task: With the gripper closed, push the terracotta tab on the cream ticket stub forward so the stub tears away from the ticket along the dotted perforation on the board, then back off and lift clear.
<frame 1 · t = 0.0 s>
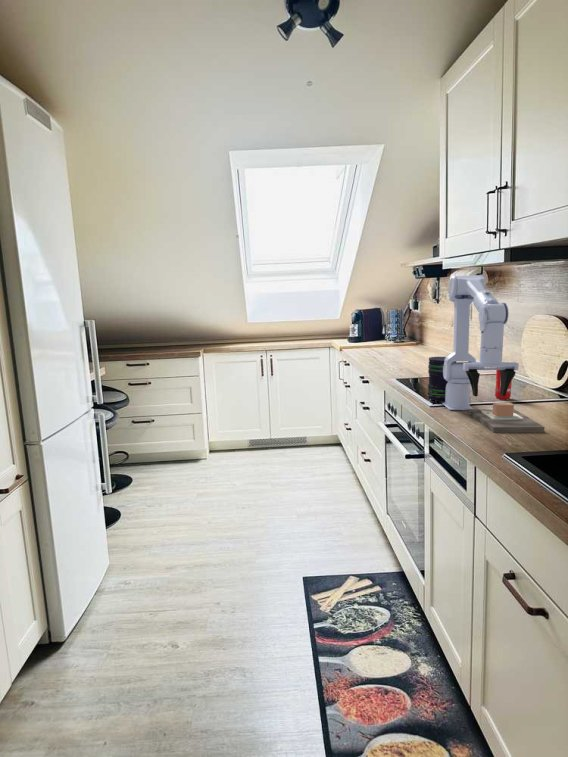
hand: (488, 395, 144), 10 cm above the worktop, fingers open, 7 cm apart
stub: (504, 410, 154), point 3 cm above the worktop, slide at 0.0 cm
beverage can: (502, 399, 187), on the worktop
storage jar: (441, 399, 188), on the worktop
ticket board: (503, 422, 155), on the worktop
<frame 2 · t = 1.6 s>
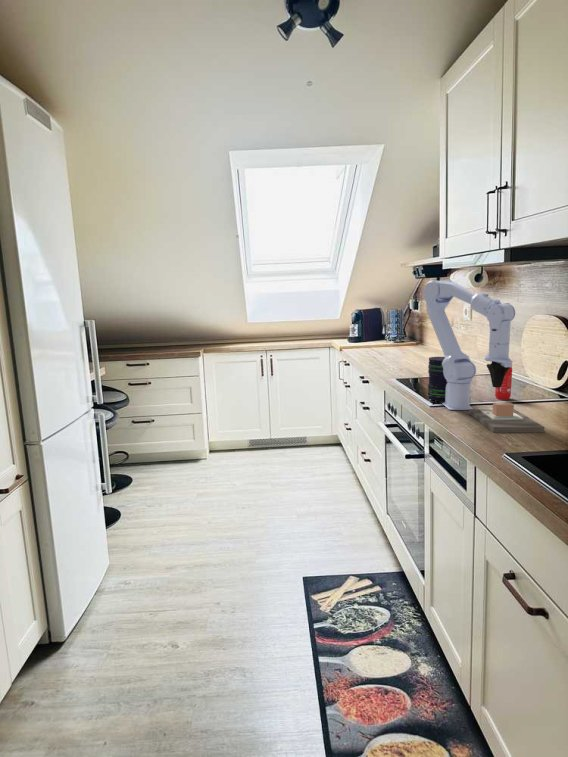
hand: (496, 386, 160), 9 cm above the worktop, fingers closed
nothing on the worktop moved.
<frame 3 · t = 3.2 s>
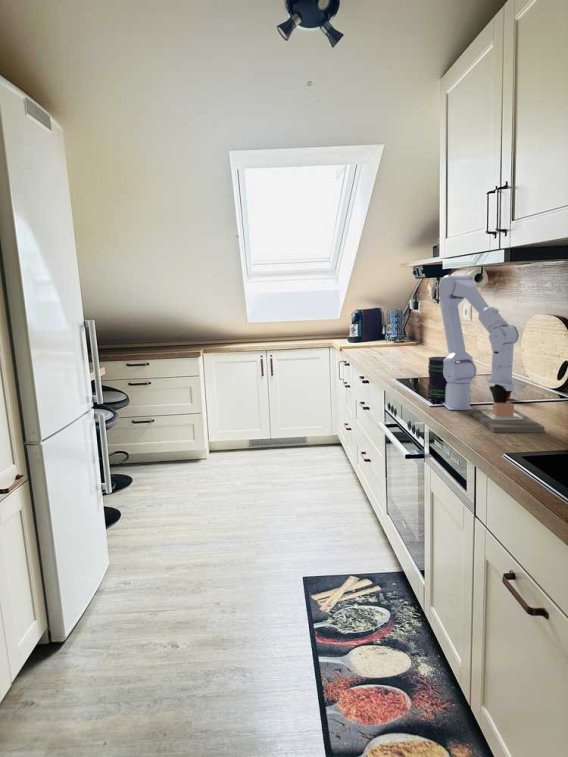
hand: (499, 409, 158), 3 cm above the worktop, fingers closed
stub: (504, 410, 154), point 3 cm above the worktop, slide at 0.1 cm, touching gripper
everything else where it was.
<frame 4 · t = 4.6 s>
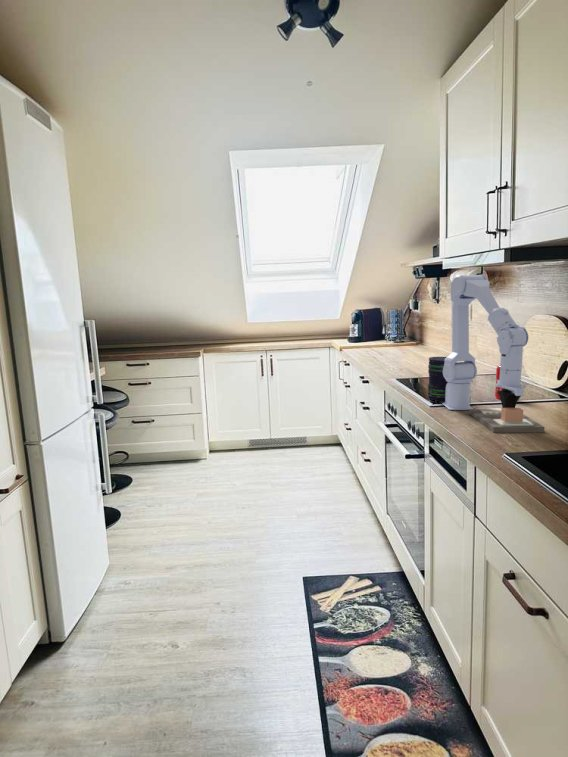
hand: (508, 415, 151), 3 cm above the worktop, fingers closed
stub: (513, 416, 147), point 3 cm above the worktop, slide at 6.7 cm, touching gripper
everything else where it was.
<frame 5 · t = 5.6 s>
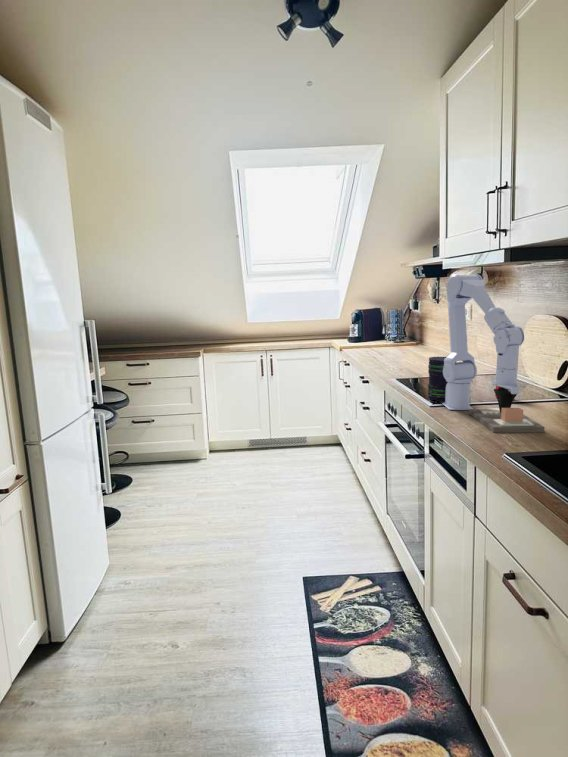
hand: (504, 412, 154), 3 cm above the worktop, fingers closed
stub: (513, 416, 147), point 4 cm above the worktop, slide at 6.8 cm
everything else where it was.
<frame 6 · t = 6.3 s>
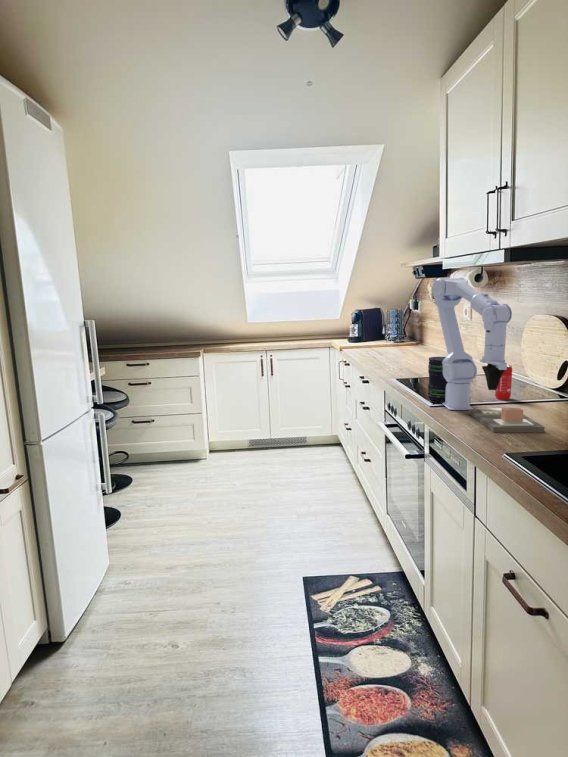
hand: (492, 389, 156), 9 cm above the worktop, fingers closed
nothing on the worktop moved.
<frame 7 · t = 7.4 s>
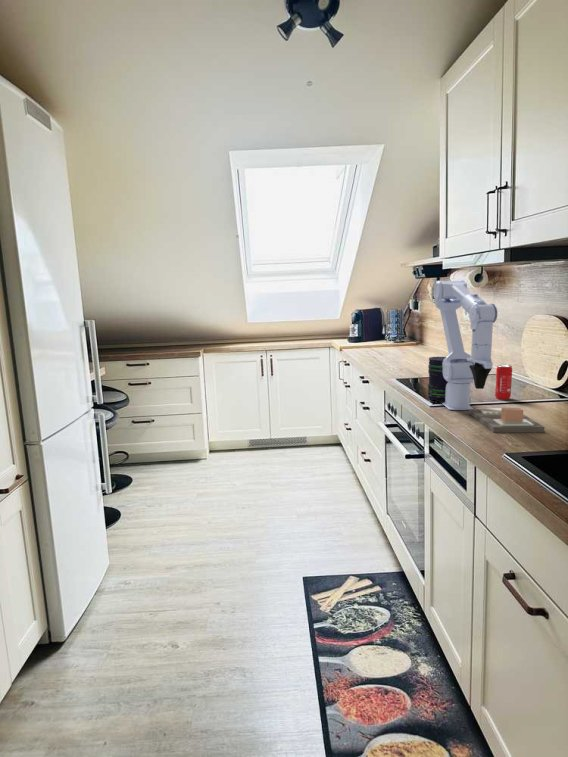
hand: (479, 388, 158), 9 cm above the worktop, fingers closed
nothing on the worktop moved.
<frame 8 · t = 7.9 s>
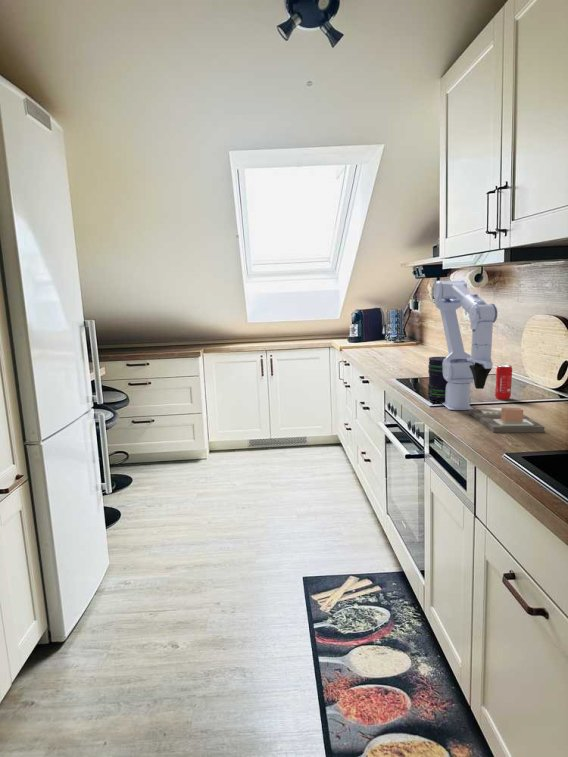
hand: (479, 388, 158), 9 cm above the worktop, fingers closed
nothing on the worktop moved.
at the end: stub slide at 6.8 cm; the gripper is holding nothing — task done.
